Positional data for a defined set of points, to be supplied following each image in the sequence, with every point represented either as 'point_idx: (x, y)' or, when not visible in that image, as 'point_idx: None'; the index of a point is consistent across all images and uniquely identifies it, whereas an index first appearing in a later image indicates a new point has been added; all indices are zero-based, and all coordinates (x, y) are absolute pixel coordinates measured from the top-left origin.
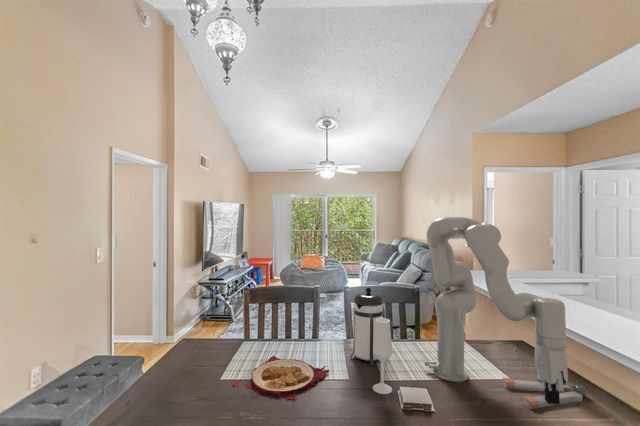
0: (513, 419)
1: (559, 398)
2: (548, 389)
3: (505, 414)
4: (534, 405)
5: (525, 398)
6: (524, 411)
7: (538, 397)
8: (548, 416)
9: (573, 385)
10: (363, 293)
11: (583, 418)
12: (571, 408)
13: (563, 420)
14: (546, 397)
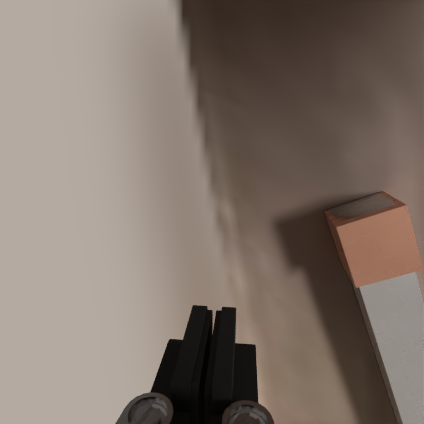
0: (194, 46)
1: (401, 420)
2: (162, 402)
3: (244, 8)
4: (338, 244)
5: (384, 210)
6: (296, 161)
7: (410, 309)
8: (261, 274)
9: None
10: None
11: None
12: (351, 420)
13: None
14: (215, 328)
